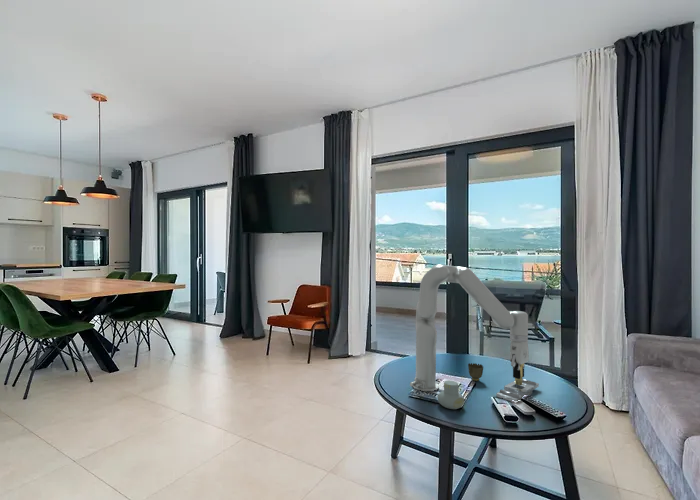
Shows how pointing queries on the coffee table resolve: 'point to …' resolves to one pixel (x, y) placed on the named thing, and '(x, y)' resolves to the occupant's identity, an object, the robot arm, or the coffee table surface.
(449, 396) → the air freshener
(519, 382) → the brass pin
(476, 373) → the cup
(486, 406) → the coffee table surface
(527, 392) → the plate with square hole
